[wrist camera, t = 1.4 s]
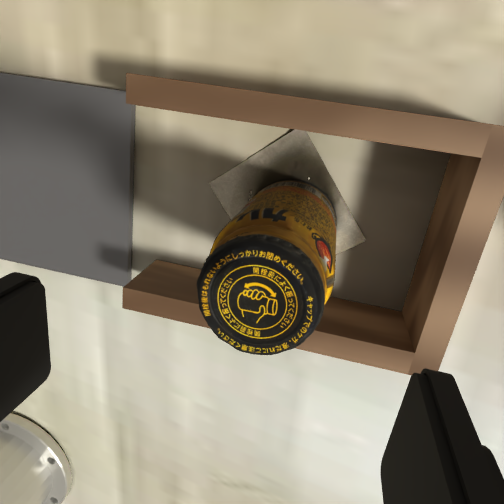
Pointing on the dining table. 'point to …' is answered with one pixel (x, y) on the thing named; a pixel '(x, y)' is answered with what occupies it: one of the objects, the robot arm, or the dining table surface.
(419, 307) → the frame
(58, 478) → the robot arm
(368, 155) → the dining table surface
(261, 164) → the condiment
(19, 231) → the mat
